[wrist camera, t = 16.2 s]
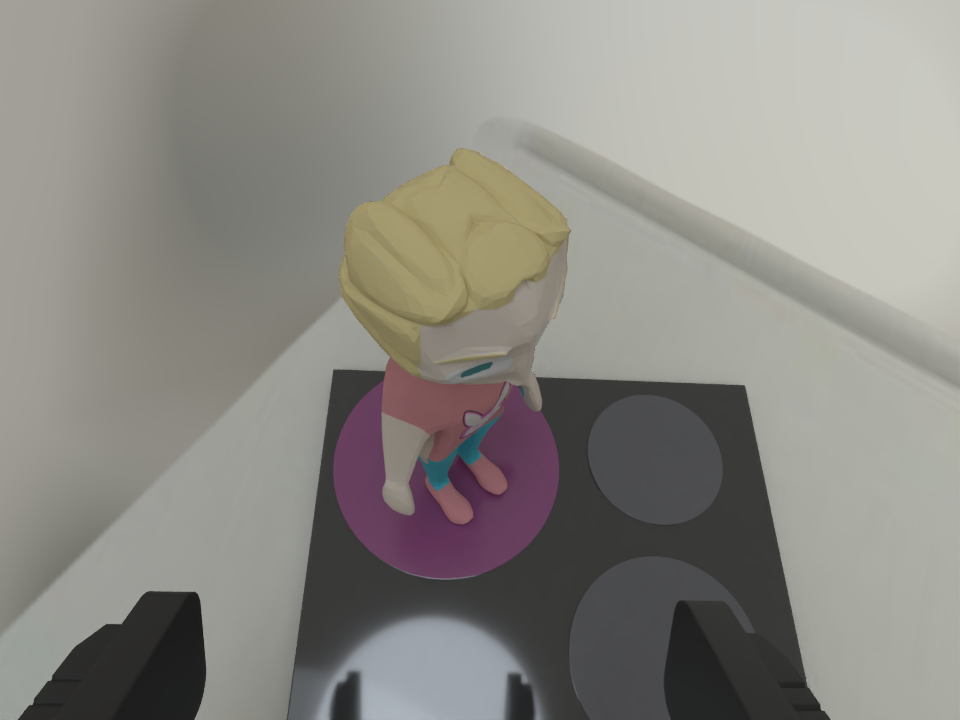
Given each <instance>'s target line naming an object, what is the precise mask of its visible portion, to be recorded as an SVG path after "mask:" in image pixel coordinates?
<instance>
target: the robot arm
mask: <svg viewBox="0 0 960 720" xmlns="http://www.w3.org/2000/svg"><path fill="white" fill-rule="evenodd" d="M52 676H53V677H52V680H51V681H48V682H47V683H46V684H45V686H44V687H43V688H42V690H41V691H40V692H39V693H38V695H37V696H36V697H35V699H34V703H33V705H29V706H28V707H27V709H26V710H25V711H24V713H23V714H22V715H21V716H20V718H19V719H18V720H194V719H195V717H196V714H197V712H198V710H199V707H200V704H201V701H202V697H203V693H204V688H205V681H206V661H205V650H204V638H203V627H202V615H201V604H200V599H199V596H198V594H197V593H196V592H161V591H148V592H146V593H145V594H144V595H143V596H142V597H141V598H140V599H139V601H138V602H137V604H136V605H135V606H134V608H133V609H132V611H131V612H130V613H129V615H128V616H127V617H126V619H125V620H124V622H123V623H122V624H106V625H105V626H103V627H102V628H100V629H99V630H98V631H96V632H95V633H94V634H92V635H91V636H90V637H88V638H87V639H85V640H84V641H83V642H81V643H80V644H79V645H77V646H76V647H74V649H73V650H72V651H71V652H70V654H69V655H68V656H67V658H66V659H65V660H64V661H63V663H62V664H61V665H60V667H59V668H58V669H57V670H56V672H55V673H54V674H53V675H52ZM664 694H665V701H666V706H667V710H668V713H669V716H670V719H671V720H830V718H829V717H828V715H827V714H826V713H825V711H821V708H820V704H819V702H818V701H817V699H816V698H815V697H814V695H813V694H812V692H811V691H810V689H809V688H806V687H805V682H804V681H803V679H802V678H801V676H800V675H799V673H798V672H797V670H796V669H795V668H794V666H793V665H792V663H791V662H790V660H789V659H788V657H787V656H786V655H785V654H783V653H782V652H781V651H780V650H779V649H777V648H776V647H775V646H774V645H773V644H771V643H770V642H769V641H768V640H766V639H765V638H764V637H763V636H762V635H760V634H759V633H746V632H745V630H744V629H743V627H742V626H741V624H740V623H739V621H738V619H737V618H736V616H735V615H734V613H733V612H732V610H731V608H730V607H729V606H728V604H727V603H725V602H724V601H686V600H680V601H679V602H678V603H677V604H676V606H675V610H674V615H673V621H672V627H671V633H670V640H669V646H668V652H667V658H666V664H665V670H664Z"/></svg>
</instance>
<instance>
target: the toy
mask: <svg viewBox="0 0 960 720" xmlns="http://www.w3.org/2000/svg"><path fill="white" fill-rule="evenodd" d="M570 232H571V230H570V229H569V227H568V224H567V219H566V218H565V217H564V216H563V214H562V213H561V212H560V211H559V210H558V209H557V208H556V207H554V206H553V205H552V204H551V203H550V202H549V201H548V200H547V199H545V198H544V197H543V196H542V195H540V194H539V193H538V192H536V191H535V190H534V189H533V188H531V187H530V186H529V185H527V184H526V183H525V182H524V181H522V180H521V179H520V178H518V177H517V176H516V175H515V174H513V173H512V172H510V171H509V170H507V169H506V168H504V167H503V166H502V165H500V164H499V163H497V162H495V161H493V160H491V159H489V158H486V157H484V156H483V155H481V154H480V153H478V152H476V151H473V150H470V149H465V148H460V149H457V150H456V151H455V152H454V154H453V155H452V157H451V160H450V166H448V165H442V166H440V167H437V168H435V169H433V170H431V171H429V172H427V173H425V174H422V175H420V176H418V177H416V178H414V179H412V180H410V181H408V182H407V183H405V184H403V185H401V186H400V187H398V188H397V189H396V190H394V191H393V192H391V193H390V194H388V195H387V196H386V197H385V198H384V199H382V200H381V201H380V202H373V201H370V202H367V203H363V204H361V205H360V206H358V207H357V208H356V209H355V210H354V211H353V213H352V214H351V216H350V218H349V221H348V223H347V226H346V231H345V239H344V251H345V255H344V258H343V260H342V262H341V265H340V270H339V276H340V277H339V282H340V285H341V292H342V297H343V298H344V300H345V302H346V303H347V305H348V306H349V308H350V309H351V311H352V312H353V314H354V316H355V317H356V318H357V320H358V321H359V322H360V323H361V324H362V325H363V327H364V328H365V329H366V330H367V331H368V333H369V334H370V335H371V336H372V337H373V338H374V340H375V341H376V342H377V343H378V344H379V345H380V347H381V348H382V349H383V350H384V351H385V352H386V353H387V354H388V355H389V356H390V359H389V361H388V364H387V367H386V372H385V377H384V382H383V395H382V441H383V452H384V463H385V473H386V481H385V484H384V486H383V491H382V495H383V498H384V501H385V502H386V503H387V504H388V505H389V507H391V508H392V509H393V510H395V511H397V512H398V513H400V514H404V515H410V516H411V515H412V514H413V513H414V510H415V505H414V500H413V496H412V492H411V489H410V486H409V481H410V478H411V475H412V472H413V470H414V467H415V464H416V461H417V459H419V460H420V461H421V462H422V464H423V467H424V469H425V472H426V474H427V476H426V479H425V484H426V487H427V489H428V490H429V491H430V493H431V494H432V495H433V497H434V498H435V499H436V500H437V502H438V503H439V504H440V506H441V508H442V509H443V511H444V513H445V515H446V516H447V518H448V519H449V520H450V521H451V522H453V523H455V524H465V523H468V522H469V521H470V520H471V519H472V518H473V510H472V508H471V505H470V503H469V502H468V500H467V499H466V498H465V497H463V496H462V495H461V494H460V493H459V492H458V491H457V490H456V489H455V488H454V486H453V485H452V483H451V481H450V480H449V478H448V475H447V473H448V470H449V468H450V466H451V464H452V462H453V460H454V458H455V456H456V455H457V453H458V455H459V456H460V457H461V459H462V460H463V462H464V463H465V464H466V466H467V467H468V468H469V469H470V470H471V472H472V473H473V474H474V475H475V477H476V479H477V481H478V482H479V484H480V485H481V486H482V487H483V488H484V489H485V490H487V491H489V492H491V493H493V494H495V495H500V494H502V493H503V492H504V491H505V490H506V489H507V480H506V478H505V476H504V475H503V473H502V472H501V471H500V469H499V468H498V467H497V466H495V465H494V464H493V463H492V462H490V461H489V460H488V459H487V458H486V457H485V456H484V455H483V454H482V453H481V451H480V450H479V449H478V447H479V445H480V443H481V441H482V439H483V437H484V436H485V434H486V432H487V431H488V430H489V428H490V427H491V426H492V425H493V424H494V423H495V422H496V421H497V420H498V419H499V418H500V417H501V415H502V413H503V411H504V405H505V402H506V400H507V398H508V395H509V393H510V391H511V388H512V386H513V385H516V386H520V387H521V396H522V398H523V400H524V402H525V404H526V405H527V406H528V407H529V408H530V409H531V410H533V411H535V412H539V411H540V410H541V408H542V398H541V393H540V389H539V385H538V382H537V380H536V377H535V375H534V374H533V373H532V371H530V370H531V367H532V364H533V361H534V350H535V346H536V345H537V343H538V341H539V339H540V337H541V336H542V334H543V332H544V330H545V328H546V326H547V325H548V323H549V321H550V320H551V319H554V318H556V314H557V310H558V306H559V304H560V302H561V300H562V298H563V296H564V286H565V277H566V273H567V250H568V238H569V234H570Z"/></svg>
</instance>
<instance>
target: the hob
mask: <svg viewBox="0 0 960 720" xmlns="http://www.w3.org/2000/svg"><path fill="white" fill-rule="evenodd" d="M385 372H386V371H360V370H333V377H332V384H331V392H330V400H329V407H328V415H327V422H326V430H325V437H324V445H323V452H322V460H321V467H320V475H319V482H318V490H317V497H316V505H315V512H314V520H313V527H312V535H311V542H310V550H309V557H308V565H307V572H306V580H305V587H304V595H303V602H302V610H301V618H300V625H299V633H298V640H297V648H296V655H295V663H294V670H293V678H292V685H291V693H290V700H289V708H288V715H287V720H671V719H670V716H669V713H668V710H667V706H666V701H665V694H664V670H665V664H666V658H667V652H668V646H669V640H670V633H671V627H672V621H673V615H674V610H675V606H676V604H677V603H678V602H679V601H680V600H686V601H724V602H725V603H727V604H728V606H729V607H730V608H731V610H732V612H733V613H734V615H735V616H736V618H737V619H738V621H739V623H740V624H741V626H742V627H743V629H744V630H745V632H746V633H759V634H760V635H762V636H763V637H764V638H765V639H766V640H768V641H769V642H770V643H771V644H773V645H774V646H775V647H776V648H777V649H779V650H780V651H781V652H782V653H783V654H785V655H786V656H787V657H788V659H789V660H790V662H791V663H792V665H793V666H794V668H795V669H796V670H797V672H798V673H799V675H800V676H801V678H802V679H803V681H804V682H805V687H806V688H808V687H807V683H806V678H805V673H804V668H803V663H802V658H801V654H800V649H799V644H798V639H797V634H796V630H795V625H794V620H793V615H792V610H791V605H790V601H789V596H788V591H787V586H786V581H785V577H784V572H783V567H782V562H781V557H780V553H779V548H778V543H777V538H776V533H775V528H774V524H773V519H772V514H771V509H770V504H769V500H768V495H767V490H766V485H765V480H764V475H763V471H762V466H761V461H760V456H759V451H758V447H757V442H756V437H755V432H754V427H753V422H752V418H751V413H750V408H749V403H748V398H747V394H746V389H745V386H744V385H721V384H695V383H670V382H644V381H618V380H592V379H566V378H541V377H536V380H537V382H538V385H539V389H540V393H541V398H542V408H541V410H540V411H539V412H535V411H533V410H531V409H530V408H529V407H528V406H527V405H526V404H525V402H524V400H523V398H522V396H521V387H520V386H516V385H513V386H512V388H511V391H510V393H509V395H508V398H507V400H506V402H505V405H504V411H503V413H502V415H501V417H500V418H499V419H498V420H497V421H496V422H495V423H494V424H493V425H492V426H491V427H490V428H489V430H488V431H487V432H486V434H485V436H484V437H483V439H482V441H481V443H480V445H479V447H478V449H479V450H480V451H481V453H482V454H483V455H484V456H485V457H486V458H487V459H488V460H489V461H490V462H492V463H493V464H494V465H495V466H497V467H498V468H499V469H500V471H501V472H502V473H503V475H504V476H505V478H506V480H507V489H506V490H505V491H504V492H503V493H502V494H500V495H495V494H493V493H491V492H489V491H487V490H485V489H484V488H483V487H482V486H481V485H480V484H479V482H478V481H477V479H476V477H475V475H474V474H473V473H472V472H471V470H470V469H469V468H468V467H467V466H466V464H465V463H464V462H463V460H462V459H461V457H460V456H459V455H458V453H457V455H456V456H455V458H454V460H453V462H452V464H451V466H450V468H449V470H448V473H447V475H448V478H449V480H450V481H451V483H452V485H453V486H454V488H455V489H456V490H457V491H458V492H459V493H460V494H461V495H462V496H463V497H465V498H466V499H467V500H468V502H469V503H470V505H471V508H472V510H473V518H472V519H471V520H470V521H469V522H468V523H465V524H455V523H453V522H451V521H450V520H449V519H448V518H447V516H446V515H445V513H444V511H443V509H442V508H441V506H440V504H439V503H438V502H437V500H436V499H435V498H434V497H433V495H432V494H431V493H430V491H429V490H428V489H427V487H426V484H425V479H426V476H427V474H426V472H425V469H424V467H423V464H422V462H421V461H420V460H419V459H417V461H416V464H415V467H414V470H413V472H412V475H411V478H410V481H409V486H410V489H411V492H412V496H413V500H414V505H415V510H414V513H413V514H412V515H411V516H410V515H404V514H400V513H398V512H397V511H395V510H393V509H392V508H391V507H389V505H388V504H387V503H386V502H385V501H384V498H383V495H382V491H383V486H384V484H385V481H386V473H385V463H384V452H383V441H382V395H383V382H384V377H385Z"/></svg>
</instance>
